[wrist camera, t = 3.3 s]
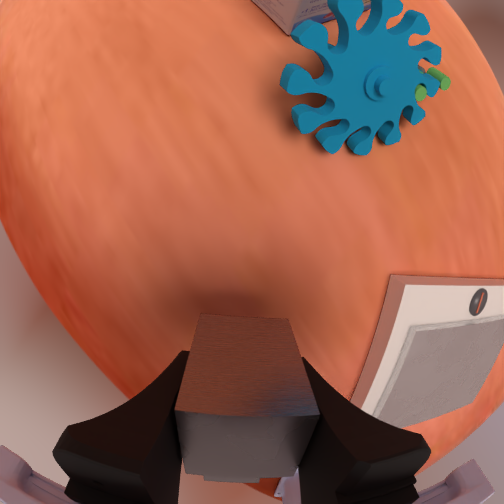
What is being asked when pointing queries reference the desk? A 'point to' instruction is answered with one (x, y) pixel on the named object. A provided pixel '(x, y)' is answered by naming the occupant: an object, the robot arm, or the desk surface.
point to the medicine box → (298, 11)
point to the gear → (364, 75)
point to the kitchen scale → (431, 347)
